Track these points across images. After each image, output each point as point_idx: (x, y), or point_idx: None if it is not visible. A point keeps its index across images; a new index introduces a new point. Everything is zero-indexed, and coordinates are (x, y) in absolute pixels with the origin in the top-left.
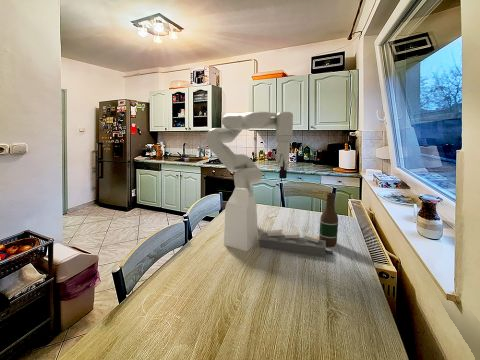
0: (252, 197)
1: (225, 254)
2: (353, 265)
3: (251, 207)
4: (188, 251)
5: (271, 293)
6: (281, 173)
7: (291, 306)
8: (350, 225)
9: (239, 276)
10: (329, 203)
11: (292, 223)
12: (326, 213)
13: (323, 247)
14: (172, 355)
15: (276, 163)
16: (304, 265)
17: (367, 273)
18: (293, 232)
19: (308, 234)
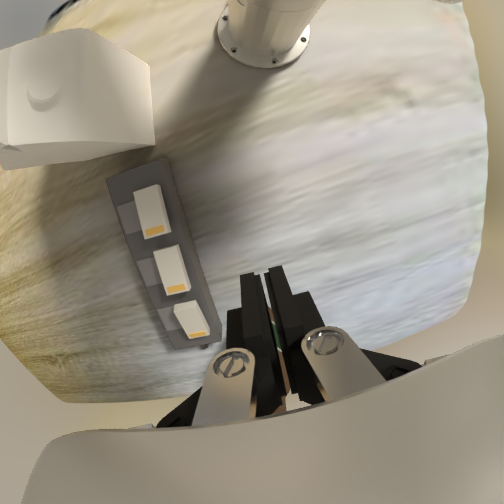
0: (290, 8)
1: None
2: (183, 377)
3: (42, 156)
4: None
5: (21, 288)
6: (228, 339)
7: (25, 319)
8: (410, 327)
9: (12, 220)
10: None
11: (374, 181)
12: None
13: (175, 345)
14: None
15: (71, 433)
16: (115, 309)
17: (171, 392)
18: (182, 271)
19: (192, 315)
